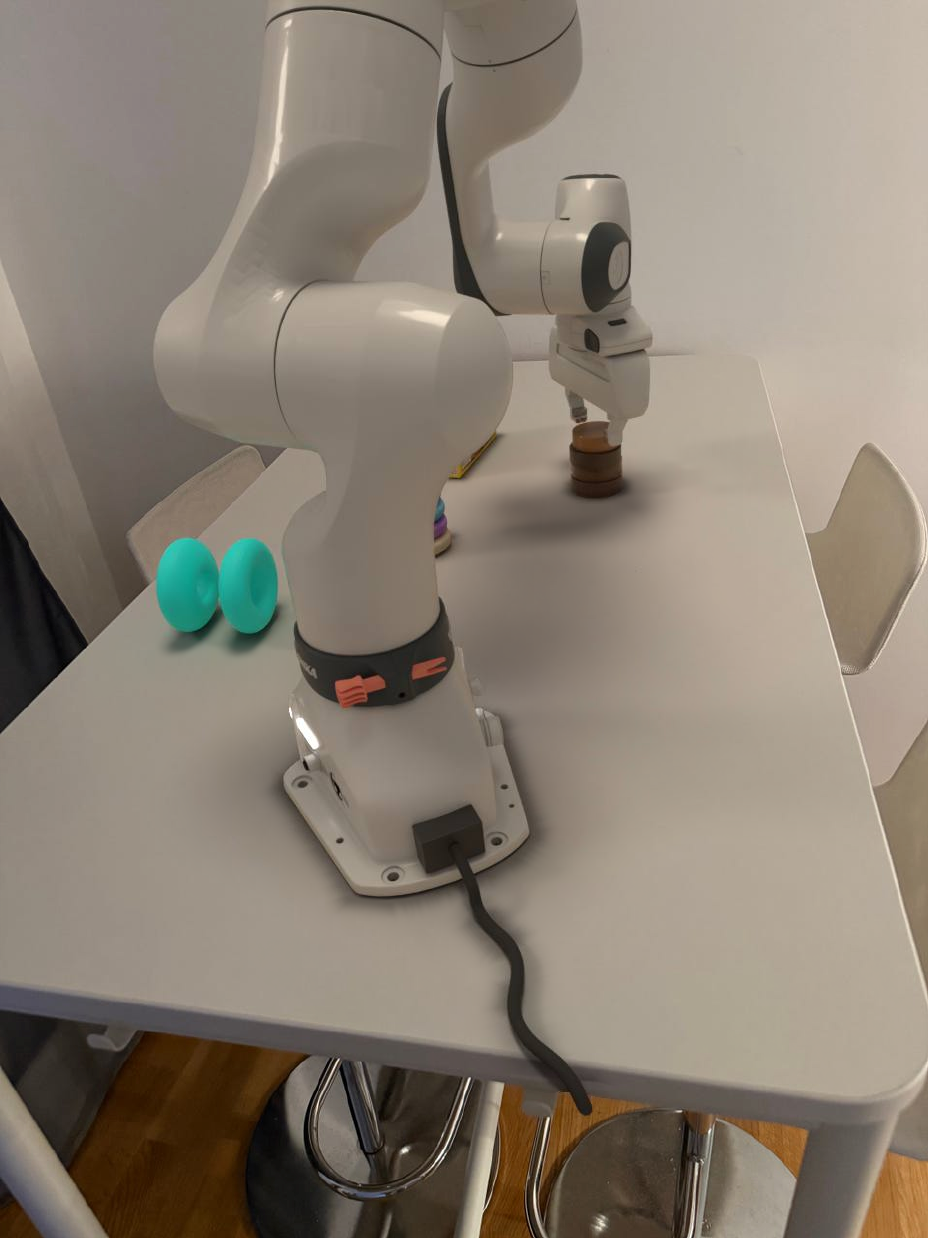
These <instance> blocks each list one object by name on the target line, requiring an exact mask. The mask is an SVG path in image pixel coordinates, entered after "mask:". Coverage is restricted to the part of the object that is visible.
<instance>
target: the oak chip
mask: <svg viewBox="0 0 928 1238" xmlns="http://www.w3.org/2000/svg"><path fill="white" fill-rule="evenodd" d="M608 425H609V421H603V420H592V421H586V422H581V423H578V424H577V425H575V426H574V427H573V428H572V429H571V438H572V442H571V443H572V444H573V447H574V448H575V449H576V450H578V451H581V452H587V453H600V452H606V451H610V450H613V449H615V448H617V447H618V446H619V445H617V446H610V445H609V444H607V443H606V442H605V441H604V438H605V436H604V430H606V429H608Z"/></svg>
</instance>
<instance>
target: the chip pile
mask: <svg viewBox="0 0 928 1238" xmlns="http://www.w3.org/2000/svg"><path fill="white" fill-rule="evenodd" d="M568 447H569V448H568V450H569V453H568V454H569V463H570V488H571V491H572V492H573V494H575V495H577V496H579V497H583V498H588V499H599V498H600V499H601V498H607V497H610V496H611V497H612V496H613V495H616V494H618V493H619V492H621V490H622V489H623V488H622V487H623V456H622V443H621V444H620V445H619V446H618V447H617V448H615V449H613V450H610V451H606V452H600V453H587V452H581V451H578V450H576V449H575V448H574V447H573V444H572V442H570V444H569V446H568Z"/></svg>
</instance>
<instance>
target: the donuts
mask: <svg viewBox="0 0 928 1238" xmlns="http://www.w3.org/2000/svg"><path fill="white" fill-rule="evenodd" d="M278 578H279V577H278V570H277V565H276V562H275V559H274V557H273V554H272V552H271V550H270V549H269V548H268V546H267V545H266V544H265V543H264V542H263V541H261V540H260V539H257V538H253V537H244V538H241V539H239V540H237V541H236V542H234V543H233V544H232V545H231V546H230V547H229V548H228V550H227V551H226V552H225V554H224V556H223V558H222V561H221V564H220V566H219V567H218V564H217V561H216V558H215V557H214V555H213V553H212V552H211V550H210V549H209V548H208V546H207V545H205V544H204V543H203V542H202V541H201V540H198V539H196V538H192V537H182V538H179V539H176V540H175V541H172V542H171V544H170V545H168V547H167V548H166V549H165V550H164V552H163V554H162V555H161V558H160V560H159V563H158V567H157V571H156V581H155V590H156V599H157V602H158V606H159V609H160V612H161V615H162V616H163V618H164V619H165V621H166V622H167V623H168V624H169V626H171V627H172V628H174V629H175V630H177V631H180V632H183V633H192V632H196V631H198V630H200V629H202V628H203V627H205V626H206V625H207V624H208V623H209V621H210V619H212V617H213V615H214V614H215V612H216V609H217V606H218V602H219V604H220V607H221V611H222V613H223V616H224V618H225V619H226V621H227V622H228V623H229V625H230V626H232V628H234V630H236V631H238V632H240V633H243V634H255V633H258V632H260V631H262V630H263V629H265V627H266V626H267V625H268V624H269V623H270V621H271V619H272V617H273V615H274V613H275V609H276V606H277V601H278V593H279V579H278Z"/></svg>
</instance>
